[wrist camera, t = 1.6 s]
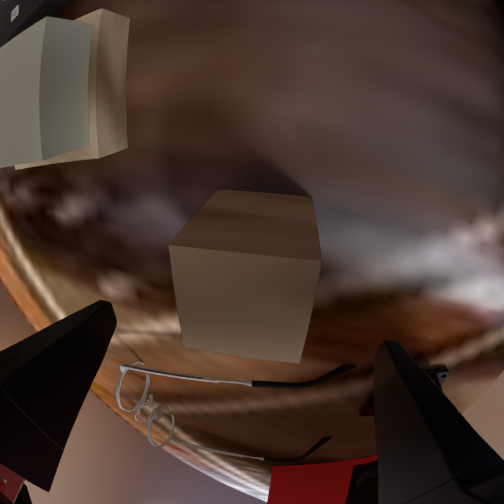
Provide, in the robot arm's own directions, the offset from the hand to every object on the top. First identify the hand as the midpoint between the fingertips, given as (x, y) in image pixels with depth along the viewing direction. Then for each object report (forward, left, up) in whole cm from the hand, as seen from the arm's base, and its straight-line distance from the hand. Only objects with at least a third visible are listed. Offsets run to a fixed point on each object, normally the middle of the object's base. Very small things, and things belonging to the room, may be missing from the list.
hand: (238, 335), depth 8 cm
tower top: (+8, +11, -4) cm, 14 cm away
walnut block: (0, 0, -7) cm, 7 cm away
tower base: (+8, +11, -7) cm, 16 cm away
